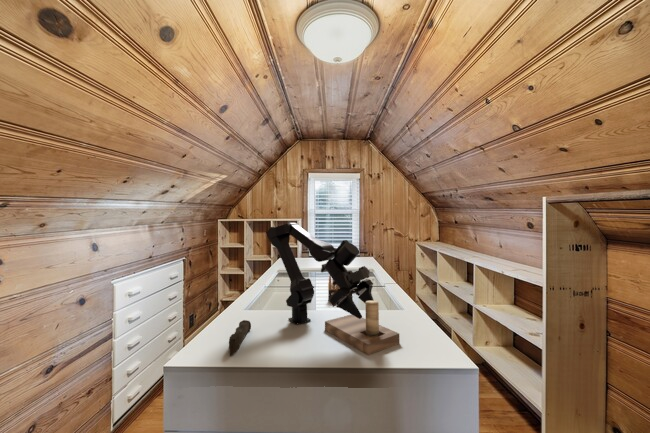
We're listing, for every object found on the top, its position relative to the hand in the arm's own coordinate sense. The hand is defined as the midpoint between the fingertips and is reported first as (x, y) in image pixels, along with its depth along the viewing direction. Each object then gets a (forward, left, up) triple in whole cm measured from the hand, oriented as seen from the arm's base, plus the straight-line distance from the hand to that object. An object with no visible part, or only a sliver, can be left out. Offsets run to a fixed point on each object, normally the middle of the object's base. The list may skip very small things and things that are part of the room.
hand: (368, 313), depth 87 cm
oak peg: (+1, 0, -9) cm, 9 cm away
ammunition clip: (-41, +19, -9) cm, 47 cm away
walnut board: (-5, 0, -9) cm, 10 cm away
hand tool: (-23, -33, -9) cm, 42 cm away
